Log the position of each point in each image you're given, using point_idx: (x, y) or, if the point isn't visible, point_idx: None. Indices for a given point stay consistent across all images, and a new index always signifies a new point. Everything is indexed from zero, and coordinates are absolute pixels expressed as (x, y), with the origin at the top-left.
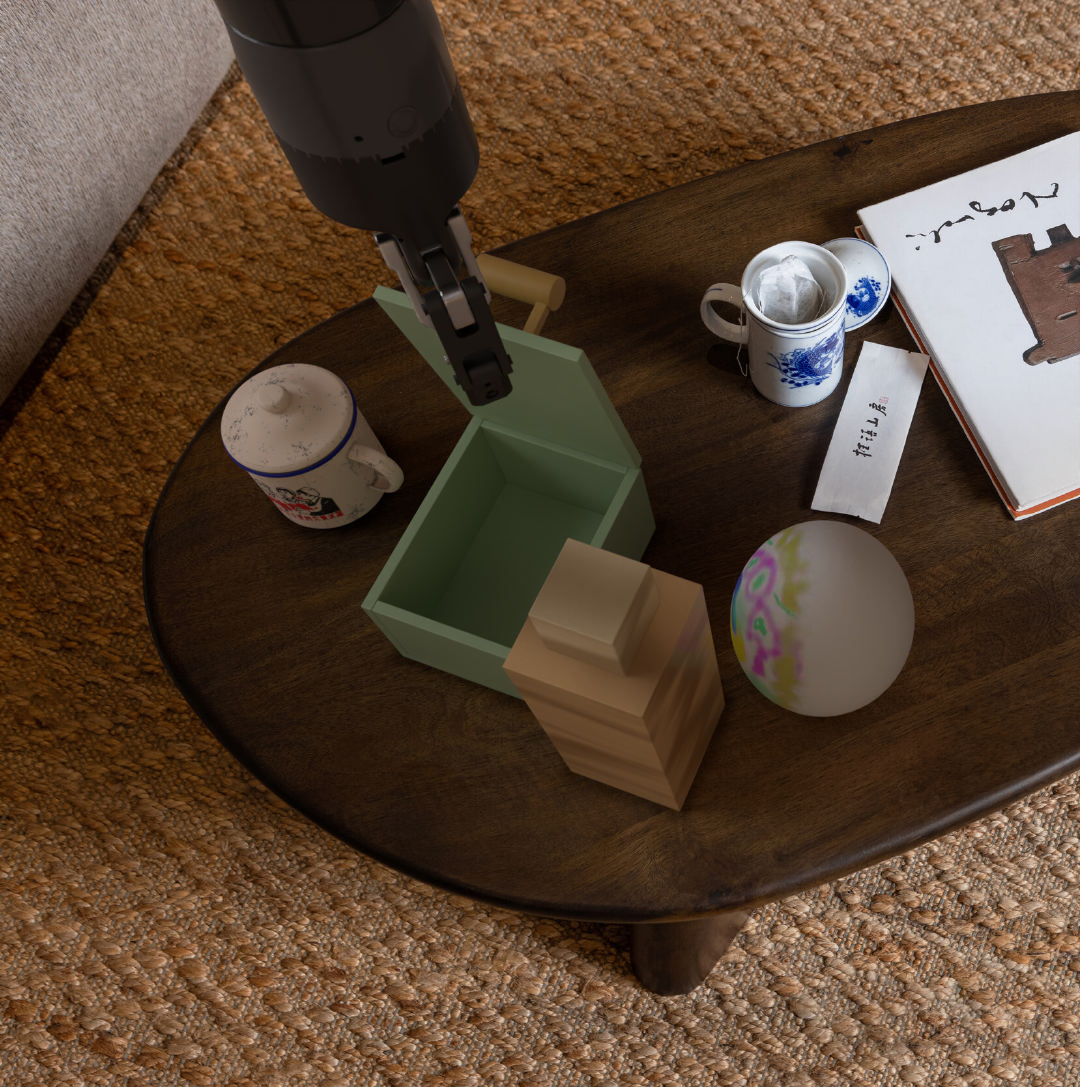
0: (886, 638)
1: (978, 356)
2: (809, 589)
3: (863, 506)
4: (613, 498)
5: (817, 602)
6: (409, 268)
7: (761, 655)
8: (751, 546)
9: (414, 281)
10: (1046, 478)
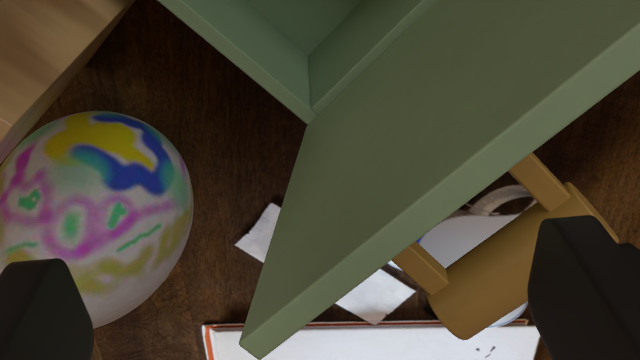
0: None
1: (356, 351)
2: None
3: (256, 239)
4: (327, 57)
5: None
6: (586, 274)
7: (17, 176)
8: (251, 144)
9: (557, 226)
10: (231, 352)
